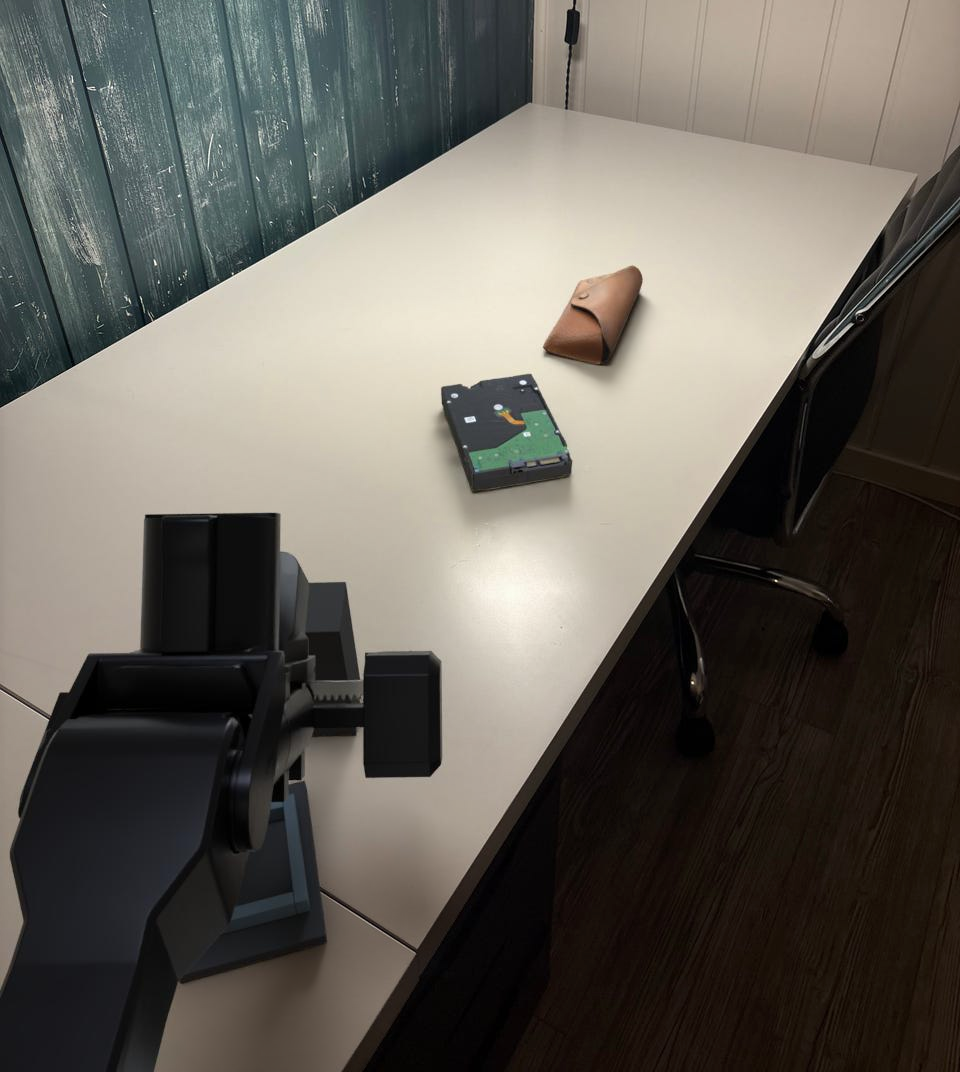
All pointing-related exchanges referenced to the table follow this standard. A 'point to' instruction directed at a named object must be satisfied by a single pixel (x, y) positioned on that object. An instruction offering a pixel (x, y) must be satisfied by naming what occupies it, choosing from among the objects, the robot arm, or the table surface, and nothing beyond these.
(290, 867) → the base pad
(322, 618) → the dark grey square block
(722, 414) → the table surface
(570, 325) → the sunglasses case
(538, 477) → the disk drive
